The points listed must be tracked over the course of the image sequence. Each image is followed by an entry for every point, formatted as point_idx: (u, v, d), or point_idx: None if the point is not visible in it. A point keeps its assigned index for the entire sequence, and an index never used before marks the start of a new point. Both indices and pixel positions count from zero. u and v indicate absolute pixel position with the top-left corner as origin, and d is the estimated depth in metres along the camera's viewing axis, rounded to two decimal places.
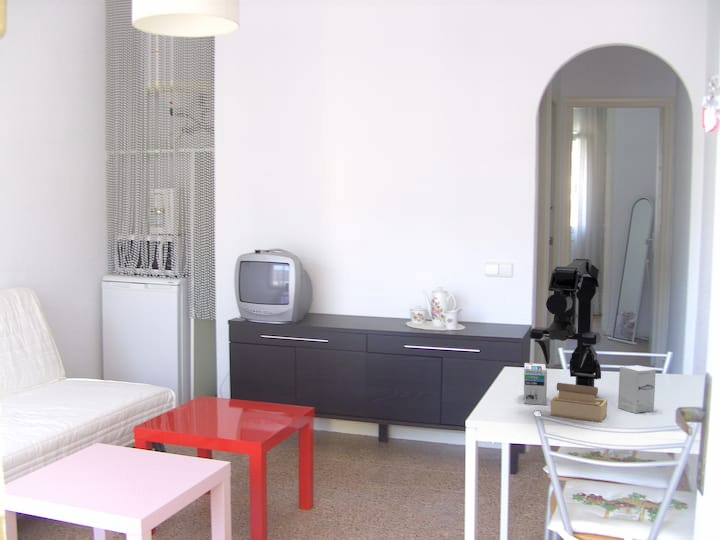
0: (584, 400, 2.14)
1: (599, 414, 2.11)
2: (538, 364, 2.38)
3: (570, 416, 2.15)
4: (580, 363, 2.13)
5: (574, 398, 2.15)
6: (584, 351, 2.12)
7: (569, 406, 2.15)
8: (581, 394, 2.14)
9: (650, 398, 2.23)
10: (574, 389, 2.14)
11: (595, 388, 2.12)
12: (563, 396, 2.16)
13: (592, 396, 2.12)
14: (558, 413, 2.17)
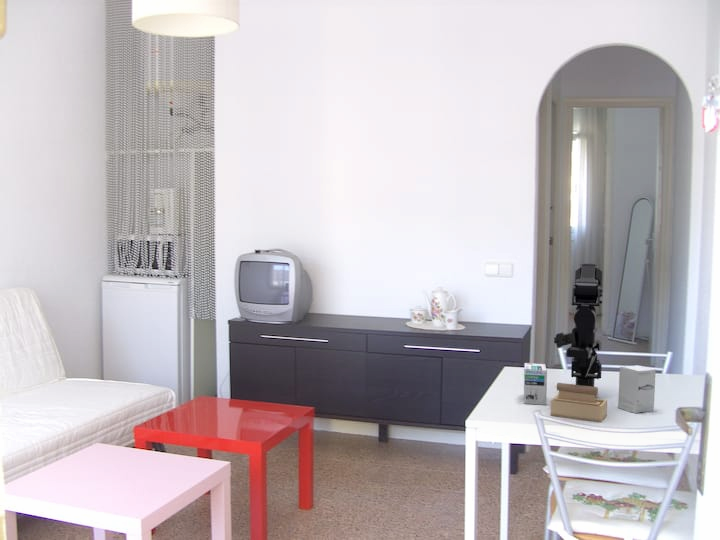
0: (584, 400, 2.14)
1: (599, 414, 2.11)
2: (538, 364, 2.38)
3: (570, 416, 2.15)
4: None
5: (574, 398, 2.15)
6: None
7: (569, 406, 2.15)
8: (581, 394, 2.14)
9: (650, 398, 2.23)
10: (574, 389, 2.14)
11: (595, 388, 2.12)
12: (563, 396, 2.16)
13: (592, 396, 2.12)
14: (558, 413, 2.17)
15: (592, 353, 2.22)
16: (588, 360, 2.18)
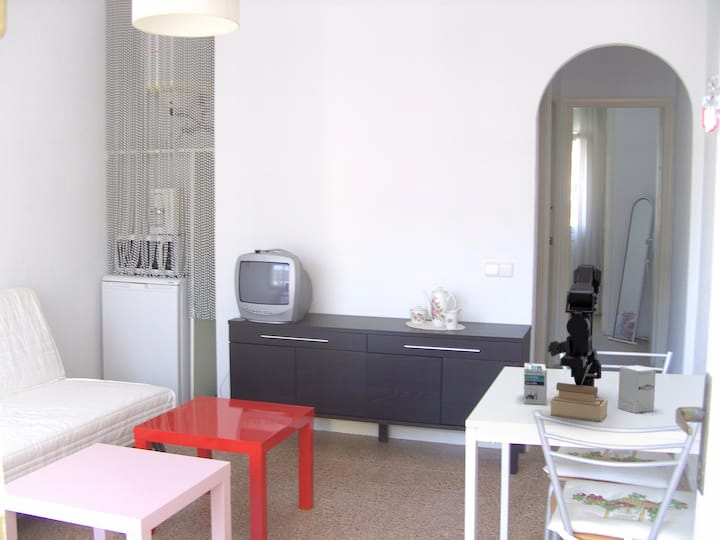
0: (584, 400, 2.13)
1: (599, 414, 2.11)
2: (538, 364, 2.38)
3: (570, 416, 2.15)
4: (575, 382, 2.16)
5: (574, 398, 2.15)
6: None
7: (569, 406, 2.15)
8: (581, 394, 2.14)
9: (650, 398, 2.23)
10: (574, 389, 2.14)
11: (595, 388, 2.11)
12: (563, 396, 2.16)
13: (592, 396, 2.12)
14: (558, 413, 2.17)
15: (587, 362, 2.16)
16: (583, 369, 2.13)
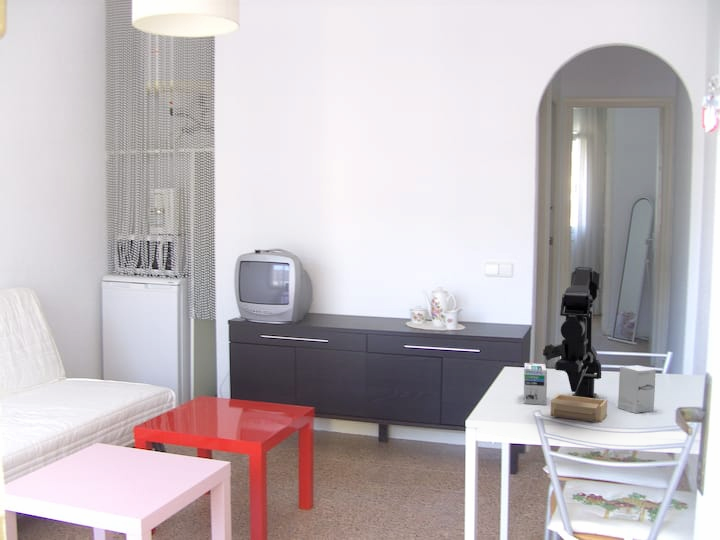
0: None
1: (599, 414, 2.11)
2: (538, 364, 2.38)
3: None
4: None
5: None
6: None
7: None
8: None
9: (650, 398, 2.23)
10: None
11: None
12: None
13: None
14: None
15: (583, 366, 2.12)
16: (578, 373, 2.08)
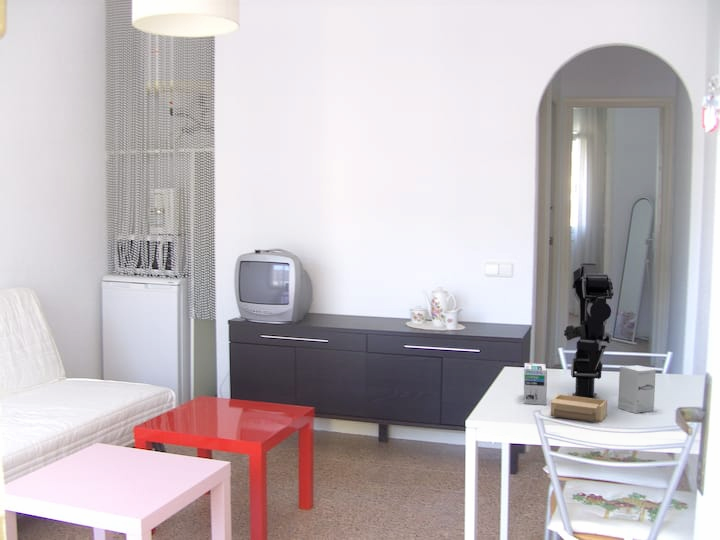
0: None
1: (599, 414, 2.11)
2: (538, 364, 2.38)
3: None
4: None
5: None
6: None
7: None
8: None
9: (650, 398, 2.23)
10: None
11: None
12: None
13: None
14: None
15: (602, 346, 2.24)
16: (598, 352, 2.20)
